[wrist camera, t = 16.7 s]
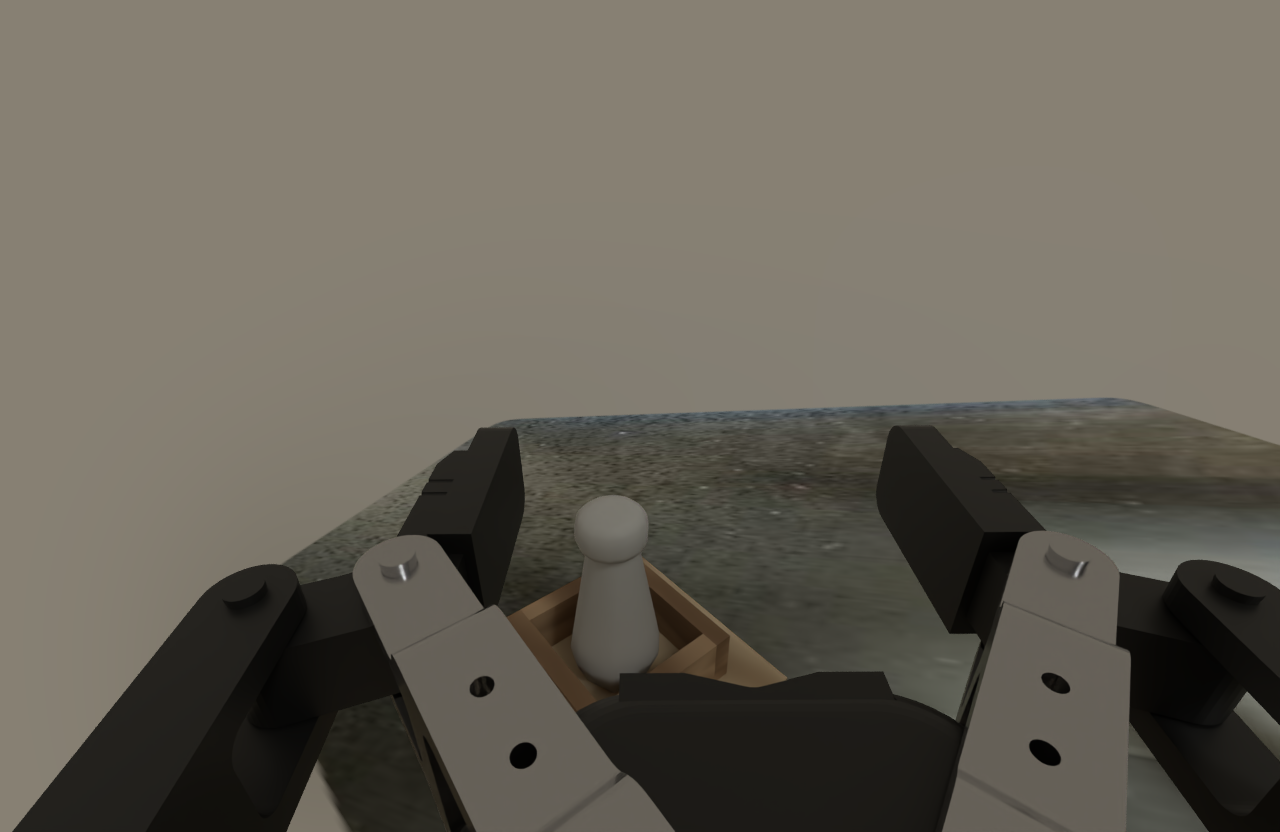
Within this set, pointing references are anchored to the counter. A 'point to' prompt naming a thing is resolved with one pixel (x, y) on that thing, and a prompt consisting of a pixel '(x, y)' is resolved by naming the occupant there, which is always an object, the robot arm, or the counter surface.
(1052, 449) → the counter surface
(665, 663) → the socket holder
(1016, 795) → the robot arm
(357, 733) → the counter surface
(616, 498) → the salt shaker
